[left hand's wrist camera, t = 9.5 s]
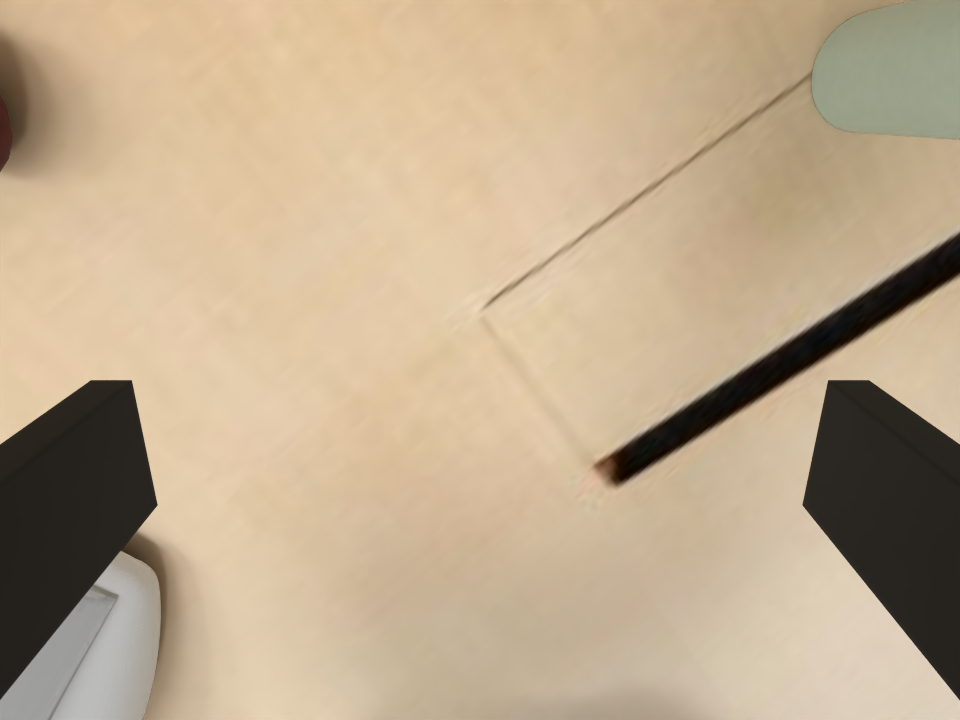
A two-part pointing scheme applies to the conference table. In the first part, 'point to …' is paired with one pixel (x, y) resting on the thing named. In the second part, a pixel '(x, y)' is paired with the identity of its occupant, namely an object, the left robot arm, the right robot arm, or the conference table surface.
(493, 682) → the conference table surface
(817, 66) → the bottle
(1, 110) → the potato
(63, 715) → the projector
